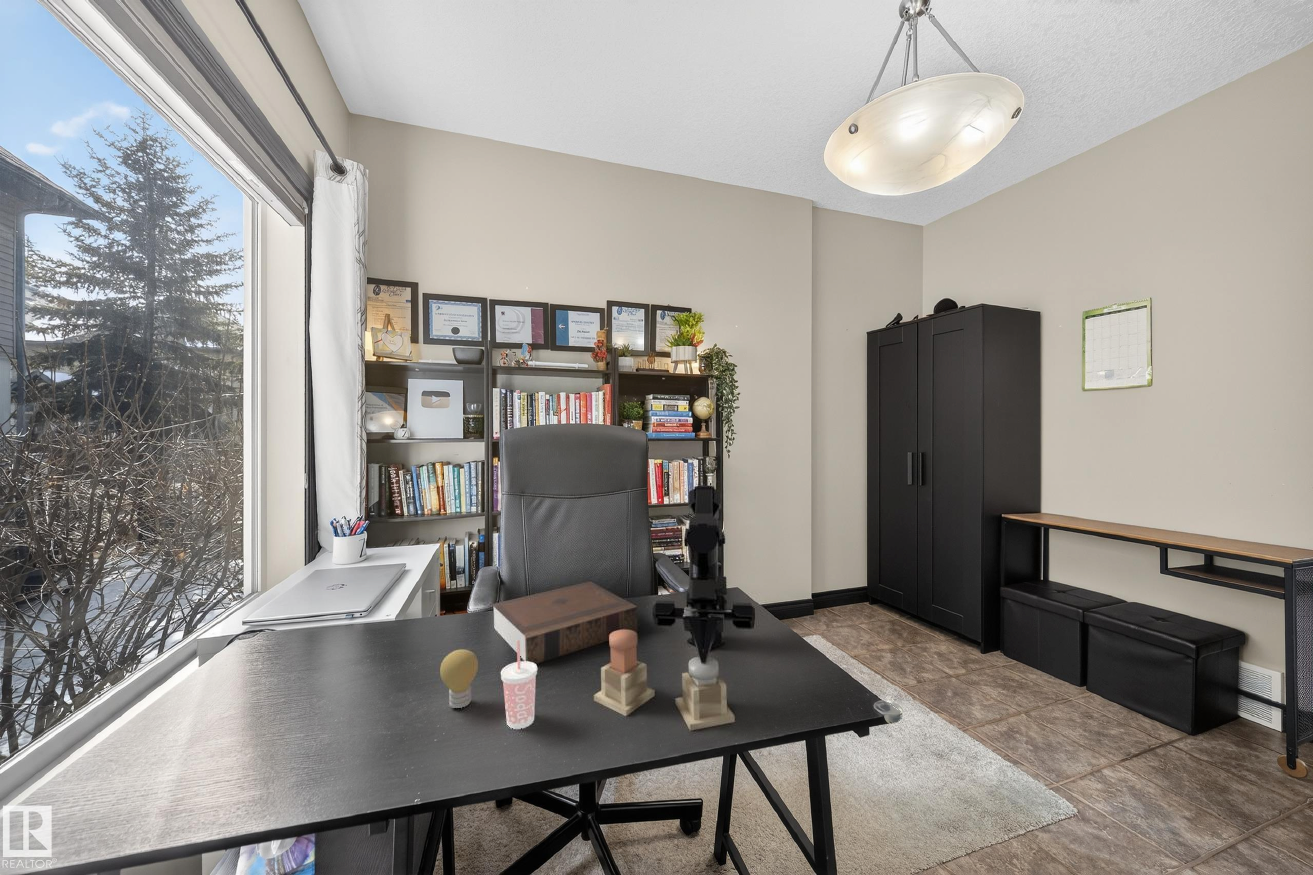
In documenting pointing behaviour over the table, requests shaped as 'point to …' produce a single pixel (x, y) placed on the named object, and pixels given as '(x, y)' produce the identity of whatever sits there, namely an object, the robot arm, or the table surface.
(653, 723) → the table surface
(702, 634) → the robot arm
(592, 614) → the book
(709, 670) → the light grey rounded piece
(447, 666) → the light bulb
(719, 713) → the beige square socket
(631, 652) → the terracotta plunger
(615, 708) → the cream square holder
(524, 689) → the beverage cup
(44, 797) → the table surface
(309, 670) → the table surface
